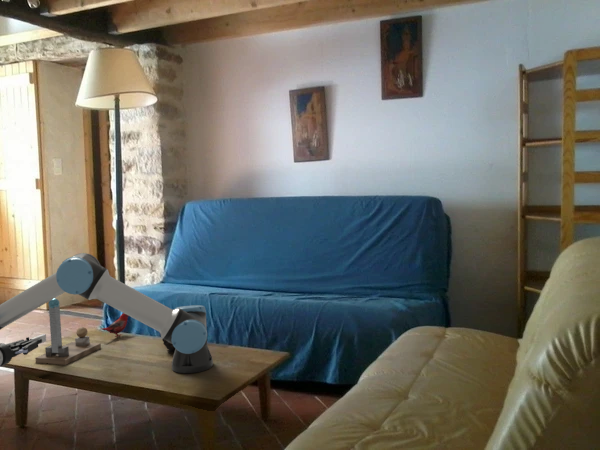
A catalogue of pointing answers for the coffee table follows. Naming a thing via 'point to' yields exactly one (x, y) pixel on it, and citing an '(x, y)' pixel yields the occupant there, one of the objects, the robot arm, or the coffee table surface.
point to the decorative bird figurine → (117, 325)
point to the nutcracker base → (70, 350)
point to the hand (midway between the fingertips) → (44, 337)
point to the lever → (55, 325)
